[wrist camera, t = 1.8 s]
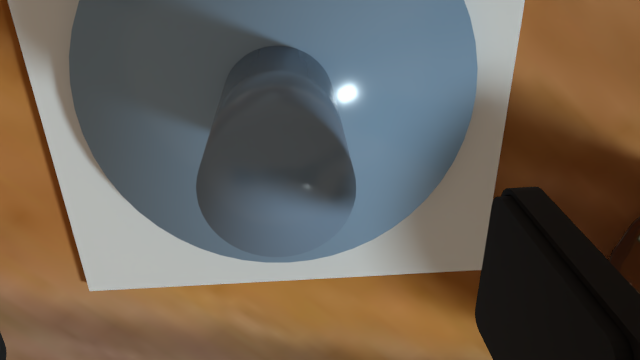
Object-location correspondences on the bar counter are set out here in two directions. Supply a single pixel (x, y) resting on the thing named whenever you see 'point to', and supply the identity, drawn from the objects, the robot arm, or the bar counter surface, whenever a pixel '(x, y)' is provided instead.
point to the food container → (629, 255)
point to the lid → (274, 115)
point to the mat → (209, 268)
